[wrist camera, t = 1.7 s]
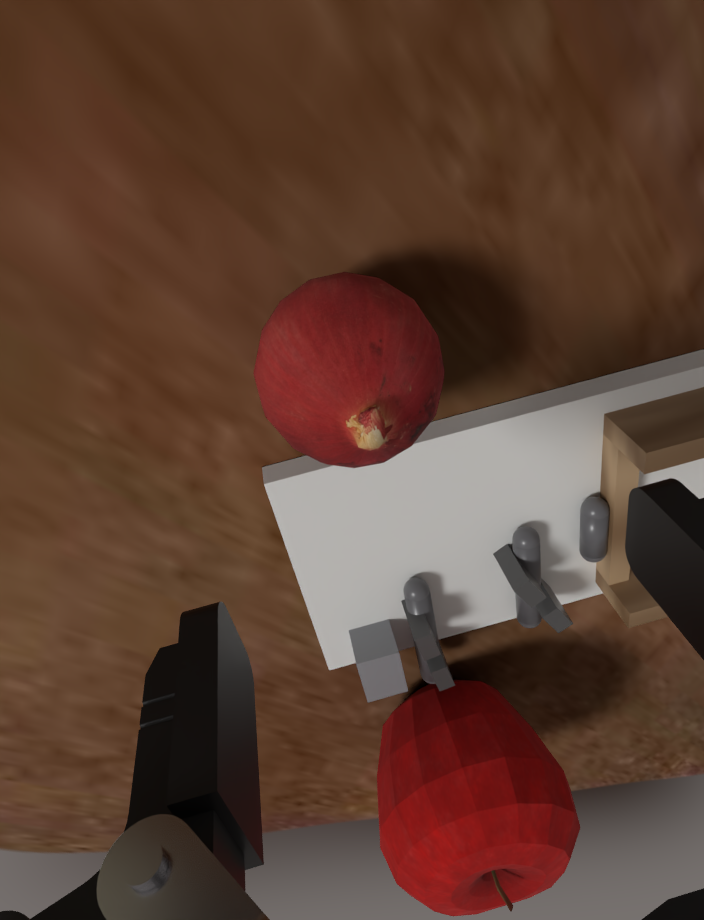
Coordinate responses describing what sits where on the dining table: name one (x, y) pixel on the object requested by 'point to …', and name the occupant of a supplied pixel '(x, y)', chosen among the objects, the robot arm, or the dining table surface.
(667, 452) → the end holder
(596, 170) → the dining table surface
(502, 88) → the dining table surface
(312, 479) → the board
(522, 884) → the apple
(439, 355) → the onion
